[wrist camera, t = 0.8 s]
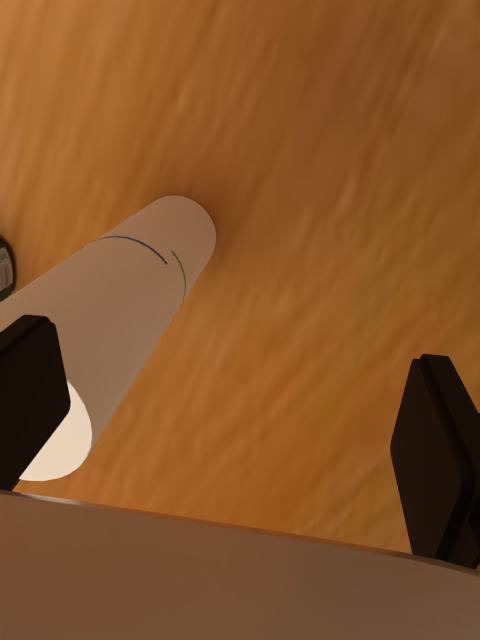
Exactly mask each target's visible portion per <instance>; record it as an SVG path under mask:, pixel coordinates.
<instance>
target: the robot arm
mask: <svg viewBox="0 0 480 640" xmlns="http://www.w3.org/2000/svg"><path fill="white" fill-rule="evenodd" d="M70 407H71V399H70V394H69V389H68V384H67V379H66V374H65V369H64V364H63V359H62V354H61V349H60V344H59V339H58V334H57V329H56V325H55V324H54V323H53V322H51V321H50V319H49V318H48V317H46V316H39V315H29V314H24V315H22V316H21V317H20V318H18V319H17V320H16V321H14V322H13V323H12V324H10V325H9V326H8V327H7V328H5V329H4V330H3V331H1V332H0V640H480V413H478V411H477V410H476V408H475V406H474V404H473V402H472V400H471V398H470V396H469V394H468V392H467V390H466V388H465V387H464V385H463V383H462V381H461V379H460V377H459V375H458V373H457V371H456V369H455V367H454V365H453V364H452V362H451V360H450V358H449V357H448V356H441V355H431V354H423V355H422V356H421V357H420V359H413V361H412V363H411V366H410V370H409V374H408V378H407V382H406V386H405V389H404V393H403V397H402V401H401V405H400V409H399V412H398V416H397V420H396V424H395V428H394V432H393V435H392V439H391V447H390V451H391V458H392V463H393V467H394V472H395V476H396V481H397V485H398V490H399V494H400V499H401V504H402V508H403V513H404V517H405V522H406V526H407V531H408V535H409V540H410V545H411V549H412V554H413V555H412V554H408V553H403V552H398V551H392V550H386V549H381V548H375V547H369V546H363V545H357V544H351V543H346V542H340V541H334V540H328V539H322V538H316V537H310V536H303V535H297V534H291V533H284V532H278V531H271V530H265V529H259V528H252V527H246V526H239V525H233V524H227V523H220V522H214V521H207V520H201V519H194V518H188V517H181V516H175V515H168V514H161V513H155V512H148V511H142V510H135V509H128V508H122V507H115V506H108V505H102V504H95V503H88V502H82V501H75V500H68V499H61V498H54V497H47V496H40V495H33V494H26V493H20V492H13V491H10V490H11V488H12V487H13V486H14V484H15V483H16V482H17V481H18V479H19V478H20V477H21V475H22V474H23V473H24V471H25V470H26V469H27V467H28V466H29V465H30V463H31V462H32V461H33V459H34V458H35V457H36V455H37V454H38V453H39V451H40V450H41V449H42V448H43V446H44V445H45V444H46V442H47V441H48V440H49V438H50V437H51V436H52V434H53V433H54V432H55V430H56V429H57V428H58V426H59V425H60V424H61V422H62V421H63V420H64V418H65V417H66V416H67V414H68V413H69V410H70Z"/></svg>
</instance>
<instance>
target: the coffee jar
mask: <svg viewBox="0 0 480 640" xmlns="http://www.w3.org/2000/svg"><path fill="white" fill-rule="evenodd" d="M13 275H14V270H13V263H12V260H11V257H10V254H9V251H8V249H7V248H6V246H5V245H4V244H3V242H2V241H1V240H0V302H1V301H3V300H4V299H6V298H7V297H8V296H9V294H10V293H11V290H12V286H13V279H14V277H13Z"/></svg>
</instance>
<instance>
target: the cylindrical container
mask: <svg viewBox="0 0 480 640" xmlns="http://www.w3.org/2000/svg"><path fill="white" fill-rule="evenodd" d="M215 246H216V231H215V226H214V224H213V221H212V219H211V217H210V216H209V214H208V213H207V212H206V210H205V209H204V208H203V207H202V206H201V205H199V204H198V203H197V202H195V201H193V200H191V199H189V198H186V197H183V196H176V195H171V196H164V197H162V198H159V199H157V200H155V201H154V202H152V203H151V204H149V205H148V206H146V207H145V208H143V209H142V210H140V211H138V212H137V213H135V214H134V215H132V216H131V217H129V218H128V219H126V220H125V221H123V222H122V223H120V224H119V225H117V226H116V227H114V228H113V229H111V230H110V231H108V232H107V233H105V234H104V235H102V236H101V237H99V238H98V239H96V240H95V241H93V242H92V243H90V244H89V245H87V246H86V247H84V248H82V249H81V250H79V251H78V252H76V253H75V254H73V255H72V256H70V257H69V258H67V259H66V260H64V261H63V262H61V263H60V264H58V265H57V266H55V267H54V268H52V269H50V270H49V271H47V272H46V273H44V274H43V275H41V276H40V277H38V278H37V279H35V280H34V281H32V282H31V283H29V284H28V285H26V286H25V287H23V288H22V289H20V290H19V291H17V292H16V293H14V294H13V295H11V296H10V297H8V298H6V299H5V300H3V301H2V302H0V332H1V331H3V330H4V329H5V328H7V327H8V326H9V325H10V324H12V323H13V322H14V321H16V320H17V319H18V318H20V317H21V316H22V315H24V314H29V315H39V316H46V317H48V318H49V319H50V321H51V322H53V323H54V324H55V325H56V329H57V334H58V339H59V344H60V349H61V354H62V359H63V364H64V369H65V374H66V379H67V384H68V389H69V394H70V399H71V407H70V410H69V413H68V414H67V416H66V417H65V418H64V420H63V421H62V422H61V424H60V425H59V426H58V428H57V429H56V430H55V432H54V433H53V434H52V436H51V437H50V438H49V440H48V441H47V442H46V444H45V445H44V446H43V448H42V449H41V450H40V451H39V453H38V454H37V455H36V457H35V458H34V459H33V461H32V462H31V463H30V465H29V466H28V467H27V469H26V470H25V471H24V473H23V474H22V475H21V477H20V478H19V479H23V480H29V481H45V480H51V479H57V478H60V477H62V476H65V475H67V474H70V473H71V472H73V471H74V470H75V469H77V468H78V467H79V466H80V465H81V464H82V463H83V461H84V460H85V459H86V457H87V456H88V454H89V453H90V451H91V449H92V448H93V446H94V445H95V443H96V441H97V440H98V438H99V437H100V435H101V433H102V432H103V430H104V429H105V427H106V425H107V424H108V422H109V420H110V419H111V417H112V416H113V414H114V412H115V411H116V409H117V408H118V406H119V404H120V403H121V401H122V400H123V398H124V396H125V395H126V393H127V392H128V390H129V388H130V387H131V385H132V383H133V382H134V380H135V379H136V377H137V375H138V374H139V372H140V371H141V369H142V367H143V366H144V364H145V363H146V361H147V359H148V358H149V356H150V355H151V353H152V351H153V350H154V348H155V347H156V345H157V343H158V342H159V340H160V338H161V337H162V335H163V334H164V332H165V330H166V329H167V327H168V326H169V324H170V322H171V321H172V319H173V318H174V316H175V314H176V313H177V311H178V309H179V308H180V306H181V305H182V303H183V301H184V300H185V298H186V297H187V295H188V293H189V292H190V290H191V289H192V287H193V285H194V284H195V282H196V281H197V279H198V277H199V276H200V274H201V273H202V271H203V269H204V268H205V266H206V264H207V263H208V261H209V260H210V258H211V256H212V254H213V252H214V249H215Z"/></svg>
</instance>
